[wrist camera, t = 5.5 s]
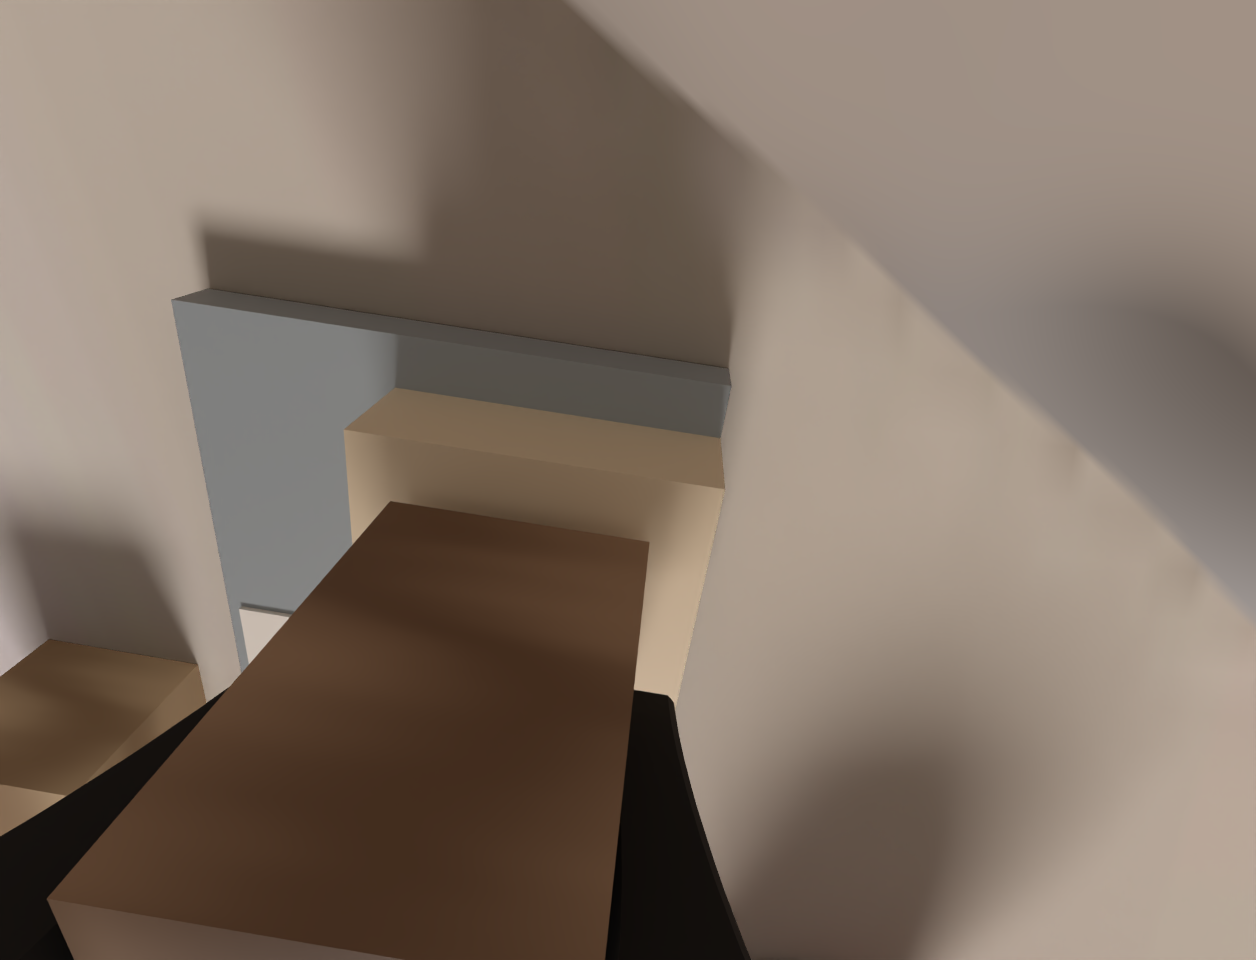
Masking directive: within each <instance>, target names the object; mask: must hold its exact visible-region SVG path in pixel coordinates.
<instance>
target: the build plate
mask: <svg viewBox="0 0 1256 960" xmlns="http://www.w3.org/2000/svg"><path fill="white" fill-rule="evenodd" d="M171 301H172V306H173V312H174V317H175V322H176V328H177V333H178V338H179V344H180V349H181V354H182V359H183V365H184V370H185V375H186V381H187V386H188V391H189V397H190V402H191V407H192V413H193V418H194V423H195V428H196V434H197V439H198V444H199V450H200V455H201V460H202V466H203V471H204V476H205V482H206V487H207V492H208V497H209V503H210V508H211V513H212V519H213V524H214V529H215V535H216V540H217V545H218V551H219V556H220V561H221V566H222V572H223V577H224V582H225V588H226V593H227V598H228V604H229V609H230V614H231V620H232V625H233V630H234V635H235V641H236V646H237V651H238V657H239V662H240V667H241V673H242V672H243V671H244V670H245V669H246V667H247V666H248V665H249V664H250V663H251V662H252V660H253V659H254V658H255V657H256V656H257V655H258V653H259V652H260V651H261V650H262V649H263V648H264V647H265V645H266V644H267V643H268V642H269V641H270V640H271V638H272V637H273V636H274V635H275V634H276V633H277V631H278V630H279V629H280V628H281V627H282V626H283V625H284V623H285V622H286V621H287V620H288V619H289V618H290V616H291V615H292V614H293V613H294V612H295V611H296V609H297V608H298V607H299V606H300V605H301V604H302V603H303V601H304V600H305V599H306V598H307V597H308V596H309V594H310V593H311V592H312V591H313V590H314V589H315V587H316V586H317V585H318V584H319V583H320V582H321V581H322V579H323V578H324V577H325V576H326V575H327V574H328V572H329V571H330V570H331V569H332V568H333V567H334V565H335V564H336V563H337V562H338V561H339V560H340V559H341V557H342V556H343V555H344V554H345V553H346V552H347V550H348V549H349V548H350V547H351V546H352V545H353V543H354V542H355V541H356V540H357V539H358V538H359V537H360V535H361V534H362V533H363V532H364V531H365V530H366V528H367V527H368V526H369V525H370V524H371V523H372V521H373V520H374V519H375V518H376V517H377V516H378V515H379V513H380V512H381V511H382V510H383V509H384V508H385V506H386V505H387V504H388V503H389V502H390V501H394V502H400V503H406V504H413V505H419V506H425V507H432V508H438V509H444V510H451V511H457V512H463V513H470V514H476V515H482V516H489V517H495V518H501V519H508V520H514V521H520V522H527V523H533V524H539V525H546V526H552V527H558V528H565V529H571V530H577V531H584V532H590V533H596V534H603V535H609V536H615V537H621V538H628V539H634V540H640V541H647V542H650V544H649V553H648V562H647V572H646V581H645V590H644V600H643V609H642V618H641V628H640V637H639V646H638V656H637V665H636V674H635V684H634V690H639V691H645V692H651V693H657V694H664V695H668V696H669V697H670V698H671V700H672V701H673V702H674V706H675V709H676V704H677V700H678V695H679V691H680V686H681V682H682V678H683V673H684V669H685V664H686V660H687V656H688V651H689V647H690V642H691V638H692V633H693V629H694V625H695V620H696V616H697V611H698V607H699V603H700V598H701V594H702V589H703V585H704V580H705V576H706V572H707V567H708V563H709V558H710V554H711V549H712V545H713V541H714V536H715V532H716V527H717V523H718V519H719V514H720V510H721V505H722V501H723V496H724V492H725V483H724V472H723V462H722V451H721V440H720V437H721V433H722V428H723V423H724V419H725V414H726V409H727V405H728V400H729V395H730V390H731V380H730V374H729V369H728V368H721V367H715V366H708V365H702V364H695V363H689V362H682V361H676V360H669V359H663V358H656V357H650V356H643V355H637V354H630V353H624V352H617V351H611V350H604V349H598V348H591V347H585V346H578V345H572V344H565V343H559V342H552V341H546V340H539V339H533V338H526V337H520V336H513V335H507V334H500V333H494V332H487V331H481V330H474V329H467V328H461V327H454V326H448V325H441V324H435V323H428V322H422V321H415V320H409V319H402V318H396V317H389V316H383V315H376V314H370V313H363V312H357V311H350V310H344V309H337V308H331V307H324V306H318V305H311V304H305V303H298V302H292V301H285V300H279V299H272V298H266V297H259V296H253V295H246V294H240V293H233V292H227V291H220V290H214V289H205V290H202V291H199V292H195V293H192V294H189V295H185V296H182V297H178V298H175V299H172V300H171Z"/></svg>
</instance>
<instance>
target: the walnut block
mask: <svg viewBox="0 0 1256 960" xmlns="http://www.w3.org/2000/svg"><path fill="white" fill-rule="evenodd" d="M649 544H650V542H647V541H640V540H634V539H628V538H621V537H615V536H609V535H603V534H596V533H590V532H584V531H577V530H571V529H565V528H558V527H552V526H546V525H539V524H533V523H527V522H520V521H514V520H508V519H501V518H495V517H489V516H482V515H476V514H470V513H463V512H457V511H451V510H444V509H438V508H432V507H425V506H419V505H413V504H406V503H400V502H394V501H390V502H389V503H388V504H387V505H386V506H385V508H384V509H383V510H382V511H381V512H380V513H379V515H378V516H377V517H376V518H375V519H374V520H373V521H372V523H371V524H370V525H369V526H368V527H367V528H366V530H365V531H364V532H363V533H362V534H361V535H360V537H359V538H358V539H357V540H356V541H355V542H354V543H353V545H352V546H351V547H350V548H349V549H348V550H347V552H346V553H345V554H344V555H343V556H342V557H341V559H340V560H339V561H338V562H337V563H336V564H335V565H334V567H333V568H332V569H331V570H330V571H329V572H328V574H327V575H326V576H325V577H324V578H323V579H322V581H321V582H320V583H319V584H318V585H317V586H316V587H315V589H314V590H313V591H312V592H311V593H310V594H309V596H308V597H307V598H306V599H305V600H304V601H303V603H302V604H301V605H300V606H299V607H298V608H297V609H296V611H295V612H294V613H293V614H292V615H291V616H290V618H289V619H288V620H287V621H286V622H285V623H284V625H283V626H282V627H281V628H280V629H279V630H278V631H277V633H276V634H275V635H274V636H273V637H272V638H271V640H270V641H269V642H268V643H267V644H266V645H265V647H264V648H263V649H262V650H261V651H260V652H259V653H258V655H257V656H256V657H255V658H254V659H253V660H252V662H251V663H250V664H249V665H248V666H247V667H246V669H245V670H244V671H243V672H242V673H241V674H240V675H239V677H238V678H237V679H236V680H235V681H234V682H233V684H232V685H231V686H230V687H229V688H228V689H227V691H226V692H225V693H224V694H223V695H222V696H221V697H220V699H219V700H218V701H217V702H216V703H215V704H214V706H213V707H212V708H211V709H210V710H209V711H208V712H207V714H206V715H205V716H204V717H203V718H202V719H201V721H200V722H199V723H198V724H197V725H196V726H195V728H194V729H193V730H192V731H191V732H190V733H189V734H188V736H187V737H186V738H185V739H184V740H183V741H182V743H181V744H180V745H179V746H178V747H177V748H176V750H175V751H174V752H173V753H172V754H171V755H170V756H169V758H168V759H167V760H166V761H165V762H164V763H163V765H162V766H161V767H160V768H159V769H158V770H157V772H156V773H155V774H154V775H153V776H152V777H151V778H150V780H149V781H148V782H147V783H146V784H145V785H144V787H143V788H142V789H141V790H140V791H139V792H138V794H137V795H136V796H135V797H134V798H133V799H132V800H131V802H130V803H129V804H128V805H127V806H126V807H125V809H124V810H123V811H122V812H121V813H120V814H119V816H118V817H117V818H116V819H115V820H114V821H113V822H112V824H111V825H110V826H109V827H108V828H107V829H106V831H105V832H104V833H103V834H102V835H101V836H100V838H99V839H98V840H97V841H96V842H95V843H94V844H93V846H92V847H91V848H90V849H89V850H88V851H87V853H86V854H85V855H84V856H83V857H82V858H81V860H80V861H79V862H78V863H77V864H76V865H75V866H74V868H73V869H72V870H71V871H70V872H69V873H68V875H67V876H66V877H65V878H64V879H63V880H62V882H61V883H60V884H59V885H58V886H57V887H56V888H55V890H54V891H53V892H52V893H51V894H50V895H49V897H48V898H47V901H48V903H49V905H50V907H51V909H52V912H53V914H54V916H55V918H56V921H57V923H58V925H59V927H60V929H61V932H62V934H63V936H64V938H65V940H66V943H67V945H68V947H69V949H70V952H71V954H72V956H73V958H74V960H605V954H606V945H607V936H608V926H609V917H610V908H611V898H612V889H613V880H614V870H615V861H616V852H617V842H618V833H619V824H620V814H621V805H622V796H623V786H624V777H625V768H626V758H627V749H628V740H629V730H630V721H631V712H632V702H633V693H634V684H635V674H636V665H637V656H638V646H639V637H640V628H641V618H642V609H643V600H644V590H645V581H646V572H647V562H648V553H649Z"/></svg>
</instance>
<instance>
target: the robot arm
mask: <svg viewBox="0 0 1256 960" xmlns="http://www.w3.org/2000/svg"><path fill="white" fill-rule="evenodd" d="M227 689H228V688H227ZM227 689H226V690H224V691H223V692H221V693H220V694H219V695H217V696H216V697H214V698H213V699H212V700H210V701H209V702H207V703H206V704H204V705H203V706H202V707H200V708H199V709H197V710H196V711H194V712H193V713H191V714H190V715H189V716H187V717H186V718H184V719H183V720H181V721H180V722H178V723H177V724H175V725H174V726H172V727H171V728H169V729H168V730H167V731H165V732H164V733H162V734H161V735H159V736H158V737H156V738H155V739H153V740H152V741H150V742H149V743H148V744H146V745H145V746H143V747H142V748H140V749H139V750H137V751H136V752H134V753H133V754H131V755H130V756H128V757H127V758H125V759H124V760H122V761H120V762H119V763H117V764H116V765H114V766H113V767H111V768H110V769H108V770H106V771H105V772H103V773H102V774H100V775H99V776H97V777H95V778H94V779H92V780H91V781H89V782H88V783H86V784H84V785H83V786H81V787H80V788H78V789H77V790H75V791H73V792H72V793H70V794H69V795H67V796H66V797H64V798H62V799H61V800H59V801H58V802H56V803H55V804H53V805H51V806H50V807H48V808H47V809H45V810H43V811H42V812H40V813H38V814H37V815H35V816H34V817H32V818H30V819H29V820H27V821H25V822H24V823H22V824H20V825H19V826H17V827H15V828H14V829H12V830H10V831H8V832H7V833H5V834H3V835H2V836H0V960H74V958H73V956H72V954H71V952H70V949H69V947H68V945H67V943H66V940H65V938H64V936H63V934H62V932H61V929H60V927H59V925H58V923H57V921H56V918H55V916H54V914H53V912H52V909H51V907H50V905H49V903H48V901H47V898H48V897H49V895H50V894H51V893H52V892H53V891H54V890H55V888H56V887H57V886H58V885H59V884H60V883H61V882H62V880H63V879H64V878H65V877H66V876H67V875H68V873H69V872H70V871H71V870H72V869H73V868H74V866H75V865H76V864H77V863H78V862H79V861H80V860H81V858H82V857H83V856H84V855H85V854H86V853H87V851H88V850H89V849H90V848H91V847H92V846H93V844H94V843H95V842H96V841H97V840H98V839H99V838H100V836H101V835H102V834H103V833H104V832H105V831H106V829H107V828H108V827H109V826H110V825H111V824H112V822H113V821H114V820H115V819H116V818H117V817H118V816H119V814H120V813H121V812H122V811H123V810H124V809H125V807H126V806H127V805H128V804H129V803H130V802H131V800H132V799H133V798H134V797H135V796H136V795H137V794H138V792H139V791H140V790H141V789H142V788H143V787H144V785H145V784H146V783H147V782H148V781H149V780H150V778H151V777H152V776H153V775H154V774H155V773H156V772H157V770H158V769H159V768H160V767H161V766H162V765H163V763H164V762H165V761H166V760H167V759H168V758H169V756H170V755H171V754H172V753H173V752H174V751H175V750H176V748H177V747H178V746H179V745H180V744H181V743H182V741H183V740H184V739H185V738H186V737H187V736H188V734H189V733H190V732H191V731H192V730H193V729H194V728H195V726H196V725H197V724H198V723H199V722H200V721H201V719H202V718H203V717H204V716H205V715H206V714H207V712H208V711H209V710H210V709H211V708H212V707H213V706H214V704H215V703H216V702H217V701H218V700H219V699H220V697H221V696H222V695H223V694H224V693H225V692H226V691H227ZM605 960H751V959H750V956H749V954H748V951H747V949H746V946H745V944H744V941H743V939H742V936H741V934H740V931H739V928H738V926H737V923H736V920H735V918H734V915H733V912H732V910H731V907H730V904H729V902H728V899H727V896H726V894H725V891H724V888H723V885H722V883H721V880H720V877H719V874H718V871H717V868H716V865H715V862H714V860H713V856H712V853H711V850H710V847H709V844H708V841H707V837H706V834H705V831H704V828H703V825H702V822H701V819H700V815H699V812H698V809H697V806H696V802H695V799H694V795H693V792H692V788H691V784H690V780H689V776H688V772H687V768H686V765H685V761H684V756H683V752H682V747H681V743H680V738H679V733H678V727H677V721H676V715H675V706H674V702H673V701H672V700H671V698H670V697H669V696H668V695H664V694H657V693H651V692H645V691H639V690H634V693H633V702H632V712H631V721H630V730H629V740H628V749H627V758H626V768H625V777H624V786H623V796H622V805H621V814H620V824H619V833H618V842H617V852H616V861H615V870H614V880H613V889H612V898H611V908H610V917H609V926H608V936H607V945H606V954H605Z"/></svg>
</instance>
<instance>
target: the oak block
mask: <svg viewBox="0 0 1256 960" xmlns="http://www.w3.org/2000/svg"><path fill="white" fill-rule="evenodd" d="M204 704H206V699H205V695H204V690H203V686H202V681H201V677H200V672H199V667H198V665H197V664H191V663H186V662H180V661H174V660H168V659H162V658H156V657H150V656H144V655H139V654H133V653H127V652H121V651H115V650H109V649H103V648H97V647H91V646H86V645H80V644H74V643H68V642H62V641H56V640H50V639H49V640H47V641H46V642H45V643H43V644H42V645H41V646H40V647H38V648H37V649H36V650H34V651H33V652H32V653H30V654H29V655H28V656H27V657H25V658H24V659H23V660H21V661H20V662H19V663H17V664H16V665H15V666H14V667H12V668H11V669H10V670H8V671H7V672H6V673H4V674H3V675H2V676H1V677H0V836H2V835H3V834H5V833H7V832H8V831H10V830H12V829H14V828H15V827H17V826H19V825H20V824H22V823H24V822H25V821H27V820H29V819H30V818H32V817H34V816H35V815H37V814H38V813H40V812H42V811H43V810H45V809H47V808H48V807H50V806H51V805H53V804H55V803H56V802H58V801H59V800H61V799H62V798H64V797H66V796H67V795H69V794H70V793H72V792H73V791H75V790H77V789H78V788H80V787H81V786H83V785H84V784H86V783H88V782H89V781H91V780H92V779H94V778H95V777H97V776H99V775H100V774H102V773H103V772H105V771H106V770H108V769H110V768H111V767H113V766H114V765H116V764H117V763H119V762H120V761H122V760H124V759H125V758H127V757H128V756H130V755H131V754H133V753H134V752H136V751H137V750H139V749H140V748H142V747H143V746H145V745H146V744H148V743H149V742H150V741H152V740H153V739H155V738H156V737H158V736H159V735H161V734H162V733H164V732H165V731H167V730H168V729H169V728H171V727H172V726H174V725H175V724H177V723H178V722H180V721H181V720H183V719H184V718H186V717H187V716H189V715H190V714H191V713H193V712H194V711H196V710H197V709H199V708H200V707H202V706H203V705H204Z"/></svg>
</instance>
